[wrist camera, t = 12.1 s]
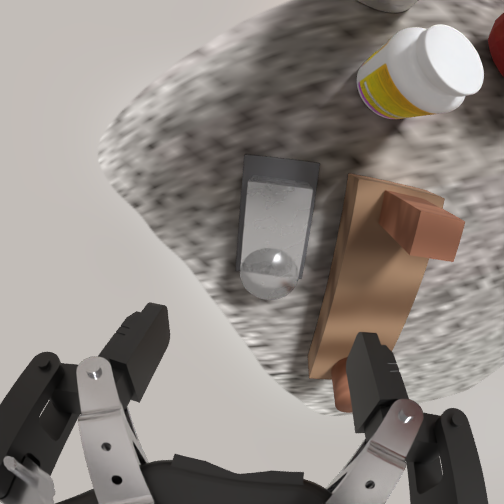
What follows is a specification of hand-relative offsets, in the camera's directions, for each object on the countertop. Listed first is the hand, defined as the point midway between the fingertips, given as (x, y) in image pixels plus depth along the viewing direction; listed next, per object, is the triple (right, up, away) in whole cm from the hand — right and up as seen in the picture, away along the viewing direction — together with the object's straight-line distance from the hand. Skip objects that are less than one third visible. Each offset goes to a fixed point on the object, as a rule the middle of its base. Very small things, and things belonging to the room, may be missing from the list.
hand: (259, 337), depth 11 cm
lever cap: (+2, +5, +16) cm, 17 cm away
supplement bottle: (+13, +19, +10) cm, 25 cm away
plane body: (+12, 0, +18) cm, 22 cm away
